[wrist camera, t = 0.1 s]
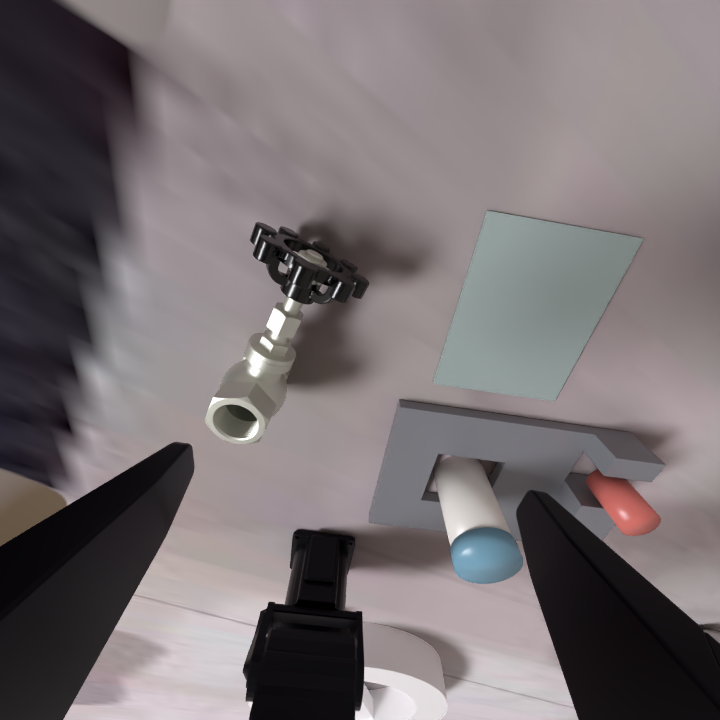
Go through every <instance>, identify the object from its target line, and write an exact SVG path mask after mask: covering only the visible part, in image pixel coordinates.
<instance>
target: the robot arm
mask: <svg viewBox="0 0 720 720" xmlns="http://www.w3.org/2000/svg"><path fill="white" fill-rule="evenodd" d="M193 473H194V458H193V450H192V446H191V445H190V444H188V443H181V442H173V443H171V444H169V445H168V446H166V447H164V448H163V449H161V450H159V451H158V452H156V453H154V454H153V455H151V456H149V457H148V458H146V459H144V460H143V461H141V462H139V463H138V464H136V465H134V466H133V467H131V468H129V469H128V470H126V471H124V472H123V473H121V474H119V475H118V476H116V477H114V478H113V479H111V480H109V481H108V482H106V483H104V484H103V485H101V486H99V487H98V488H96V489H95V490H93V491H91V492H90V493H88V494H86V495H85V496H83V497H81V498H80V499H78V500H76V501H75V502H73V503H71V504H70V505H68V506H66V507H65V508H63V509H61V510H60V511H58V512H56V513H55V514H53V515H51V516H50V517H48V518H47V519H45V520H43V521H42V522H40V523H38V524H36V525H35V526H33V527H31V528H30V529H28V530H26V531H25V532H23V533H21V534H20V535H18V536H17V537H15V538H13V539H12V540H10V541H8V542H7V543H5V544H3V545H2V546H0V720H63V719H64V717H65V715H66V714H67V712H68V710H69V708H70V707H71V705H72V703H73V701H74V699H75V698H76V696H77V694H78V692H79V690H80V689H81V687H82V685H83V683H84V682H85V680H86V678H87V676H88V674H89V673H90V671H91V669H92V667H93V666H94V664H95V662H96V660H97V658H98V657H99V655H100V653H101V651H102V650H103V648H104V646H105V644H106V642H107V641H108V639H109V637H110V635H111V633H112V632H113V630H114V628H115V626H116V625H117V623H118V621H119V619H120V617H121V616H122V614H123V612H124V610H125V609H126V607H127V605H128V603H129V601H130V600H131V598H132V596H133V594H134V593H135V591H136V589H137V587H138V585H139V584H140V582H141V580H142V578H143V576H144V575H145V573H146V571H147V569H148V568H149V566H150V564H151V562H152V560H153V559H154V557H155V555H156V553H157V552H158V550H159V548H160V546H161V544H162V543H163V541H164V539H165V537H166V535H167V533H168V531H169V529H170V526H171V524H172V522H173V520H174V517H175V515H176V513H177V510H178V508H179V506H180V504H181V501H182V499H183V497H184V494H185V492H186V490H187V487H188V485H189V483H190V481H191V478H192V476H193ZM516 518H517V522H518V527H519V531H520V535H521V539H522V543H523V548H524V552H525V556H526V560H527V564H528V568H529V572H530V576H531V579H532V582H533V586H534V589H535V592H536V595H537V598H538V601H539V604H540V606H541V609H542V612H543V615H544V618H545V621H546V624H547V627H548V630H549V633H550V636H551V639H552V642H553V645H554V648H555V651H556V654H557V657H558V660H559V663H560V666H561V669H562V672H563V675H564V678H565V681H566V684H567V687H568V689H569V692H570V695H571V698H572V701H573V704H574V707H575V710H576V713H577V716H578V719H579V720H720V643H719V642H718V641H716V640H715V639H714V638H713V637H712V636H711V635H710V634H708V633H707V632H704V630H703V629H702V628H701V627H700V626H699V625H698V624H697V623H696V622H695V621H693V620H692V619H691V618H690V617H689V616H688V615H687V614H685V613H684V612H683V611H682V610H681V609H680V608H679V607H677V606H676V605H675V604H674V603H673V602H672V601H670V600H669V599H668V598H667V597H666V596H665V595H664V594H662V593H661V592H660V591H659V590H658V589H657V588H656V587H654V586H653V585H652V584H651V583H650V582H649V581H648V580H646V579H645V578H644V577H643V576H642V575H641V574H640V573H638V572H637V571H636V570H635V569H634V568H633V567H632V566H630V565H629V564H628V563H627V562H626V561H625V560H624V559H622V558H621V557H620V556H619V555H618V554H617V553H615V552H614V551H613V550H612V549H611V548H610V547H609V546H607V545H606V544H605V543H604V542H603V541H602V540H601V539H599V538H598V537H597V536H596V535H595V534H594V533H593V532H591V531H590V530H589V529H588V528H587V527H586V526H585V525H583V524H582V523H581V522H580V521H579V520H578V519H577V518H575V517H574V516H573V515H572V514H571V513H570V512H569V511H567V510H566V509H565V508H564V507H563V506H562V505H561V504H559V503H558V502H557V501H556V500H555V499H554V498H552V497H551V496H550V495H549V494H548V493H546V492H544V491H540V490H532V489H531V490H528V491H527V492H526V494H525V496H524V497H523V499H522V500H521V502H520V504H519V505H518V507H517V510H516ZM354 547H355V538H353V537H347V536H338V535H329V534H321V533H312V532H304V531H295V532H294V533H293V539H292V550H291V561H290V568H291V569H292V571H291V576H290V581H289V586H288V591H287V596H286V601H285V605H284V604H275V602H269V603H268V607H267V608H266V609H265V610H263V611H261V612H260V616H259V620H258V624H257V628H256V632H255V635H254V638H253V641H252V644H251V647H250V649H249V652H248V655H247V658H246V661H245V664H244V668H243V674H244V676H245V678H246V680H247V682H246V688H247V692H246V701H248V702H253V703H252V707H251V712H250V717H249V720H355V711H360V709H361V705H362V699H363V689H364V643H363V621H362V612H361V611H356V612H350V611H345V602H346V584H347V574H348V571H349V567H350V563H351V559H352V555H353V551H354Z"/></svg>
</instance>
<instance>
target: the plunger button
mask: <svg viewBox="0 0 720 720" xmlns="http://www.w3.org/2000/svg"><path fill="white" fill-rule="evenodd" d="M586 485H587V486H588V488H589V489H590V490H591V492H592V493H593V494H594V496H595V497H596V498H597V500H598V501H599V502H600V504H601V505H602V506H603V508H604V509H605V510H606V512H607V513H608V514H609V516H610V517H611V518H612V520H613V521H614V523H615V524H616V525H617V527H618V528H619V529H620V531H621V532H622V533H623V534H625V535H629V536H638V535H643V534H646V533H649V532H651V531H652V530H654V529H655V528H657V527H658V525H659V524H660V522H661V518H660V516H659V515H658V514H657V513H656V512H655V511H654V510H653V509H652V507H651V506H650V505H649V504H648V503H647V502H646V501H645V500H644V499H643V497H642V496H641V495H640V494H639V493H638V492H637V491H636V490H635V488H634V487H633V486H632V485H631V484H630V483H629V482H628V481H627V480H626V479H624V478H616V477H609V476H603V474H602V473H601V472H600V471H599V470H595V471H594V472H592V473H591V474H590V475H589V476H588V477H587V479H586Z"/></svg>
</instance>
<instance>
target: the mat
mask: <svg viewBox="0 0 720 720" xmlns="http://www.w3.org/2000/svg"><path fill="white" fill-rule="evenodd" d="M643 239H644V238H638V237H633V236H627V235H621V234H616V233H610V232H605V231H599V230H593V229H588V228H582V227H577V226H571V225H565V224H560V223H554V222H549V221H543V220H537V219H532V218H526V217H521V216H515V215H509V214H504V213H498V212H493V211H487V212H486V215H485V218H484V222H483V225H482V228H481V231H480V234H479V238H478V241H477V244H476V247H475V250H474V253H473V257H472V260H471V263H470V266H469V269H468V273H467V276H466V279H465V282H464V285H463V288H462V292H461V295H460V298H459V301H458V304H457V308H456V311H455V314H454V317H453V320H452V323H451V327H450V330H449V333H448V336H447V339H446V343H445V346H444V349H443V352H442V355H441V358H440V362H439V365H438V368H437V371H436V374H435V377H434V381H433V384H438V385H445V386H452V387H459V388H466V389H473V390H480V391H486V392H493V393H500V394H507V395H514V396H521V397H528V398H534V399H541V400H548V401H555V400H556V398H557V396H558V394H559V392H560V391H561V389H562V387H563V385H564V383H565V381H566V380H567V378H568V376H569V374H570V372H571V371H572V369H573V367H574V365H575V363H576V361H577V360H578V358H579V356H580V354H581V352H582V350H583V349H584V347H585V345H586V343H587V341H588V340H589V338H590V336H591V334H592V332H593V330H594V329H595V327H596V325H597V323H598V321H599V319H600V318H601V316H602V314H603V312H604V310H605V309H606V307H607V305H608V303H609V301H610V299H611V298H612V296H613V294H614V292H615V290H616V288H617V287H618V285H619V283H620V281H621V279H622V278H623V276H624V274H625V272H626V270H627V268H628V267H629V265H630V263H631V261H632V259H633V257H634V256H635V254H636V252H637V250H638V248H639V247H640V245H641V243H642V241H643Z"/></svg>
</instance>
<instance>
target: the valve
mask: <svg viewBox="0 0 720 720" xmlns="http://www.w3.org/2000/svg"><path fill="white" fill-rule="evenodd" d="M250 241H251V242H252V243H253V244H254V245H256V246H255V249H254V252H253V256H254V257H255V258H256V259H257V260H259V261H261V262H263V263H265V264H266V267H267V270H268V273H269V275H270V276H271V278H272V279H273V280H274V281H275V282H276V283H278V284H280V285H281V287H280V288H281V291H282V292H283V293H284V294H285V295H286V299H285V301H284V303H277V304H276V306H275V307H274V309H273V311H272V314H271V316H270V319H269V321H268V323H267V327H268V328H269V329H270V330H266V331H265V332H264V333H257V334H254V335H252V336H251V337H250V339H249V341H248V344H247V346H246V349H245V352H244V354H245V356H244V357H243V359H242V361H240V362H238V363H236V364H234V365H233V366H232V367H231V368H230V369H229V370H228V371H227V372H226V373H225V375H224V377H223V379H222V381H221V384H220V389H219V391H218V392H217V393H216V395H215V396H214V397H213V400H212V402H211V404H210V407H209V409H208V412H207V415H206V418H205V423H206V424H207V425H208V427H209V428H210V429H211V430H212V431H213V432H214V433H215V434H216V435H217V436H218V437H220V438H221V439H222V440H224V441H225V442H227V443H233V444H251V443H257V442H259V441H260V439H261V437H262V435H263V433H264V431H265V429H266V427H267V425H268V423H269V421H270V418H271V417H272V416H274V415H275V414H276V413H277V412H278V411H279V410H280V408H281V407H282V405H283V403H284V401H285V398H286V393H287V385H286V380H287V378H288V376H289V374H290V371H291V369H292V367H293V366H292V364H293V362H294V360H295V358H296V352H295V350H294V348H293V347H292V346H291V345H290V344H291V340H290V339H289V338H293V337H294V335H295V333H296V331H297V329H298V327H299V325H300V323H301V321H302V318H303V316H304V315H303V313H302V312H301V311H300V309H301V307H302V304H312V303H313V302H315V303H318V304H326V303H330V302H332V301H334V300H337V301H339V302H342V303H347V301H348V300H349V298H350V296H351V294H352V292H353V294H352V296H353V297H355V298H358V299H361V298H362V297H363V295H364V293H365V291H366V290H367V288H368V286H369V281H368V280H367V279H365V278H364V277H362V276H360V275H358V274H355V273H356V271H357V267H356V266H355V265H354V264H352V263H351V262H349V261H347V260H338V259H336V258H335V257H333V256H332V255H330V254H329V252H330V249H329V248H328V247H326V246H325V245H323V244H321V243H319V242H316V241H314V242H313V244H310V243H308V242H306V241H303V240H301V239H300V238H298V234H297V233H295V232H294V231H292V230H291V229H289V228H286V227H283V226H281V227H280V228H279V231H278V233H277V232H276V230H275V229H273V228H272V227H270V226H268V225H266V224H264V223H260V222H257V223H256V224H255V226H254V229H253V232H252V235H251V238H250ZM293 251H296V252H298V254H296V253H295V252H293ZM280 261H281V262H282V263H283V264H285V265H286V266H288V267H289V268H288V270H287V272H286V274H285V273H282V272H280V271H278V266H279V264H280ZM326 267H327V268H329V269H330V270H331V271H330V270H327V269H325V268H326ZM322 284H324V285H327V286H329V287H328V289H327V291H326V293H324V294H322V293H321V292H320V291H319V289H320V287H321V285H322Z"/></svg>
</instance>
